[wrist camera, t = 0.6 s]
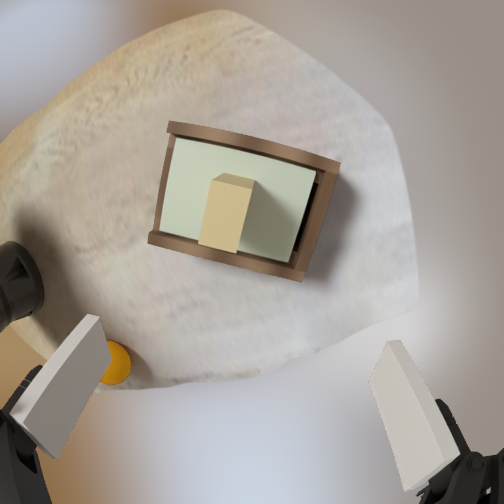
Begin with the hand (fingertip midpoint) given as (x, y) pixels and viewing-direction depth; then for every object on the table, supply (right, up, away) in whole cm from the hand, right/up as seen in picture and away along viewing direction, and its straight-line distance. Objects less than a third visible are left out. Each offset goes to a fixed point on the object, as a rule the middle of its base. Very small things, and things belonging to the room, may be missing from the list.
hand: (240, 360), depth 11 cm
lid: (-1, +10, +16) cm, 19 cm away
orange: (-24, -13, +31) cm, 42 cm away
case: (-1, +12, +21) cm, 24 cm away
